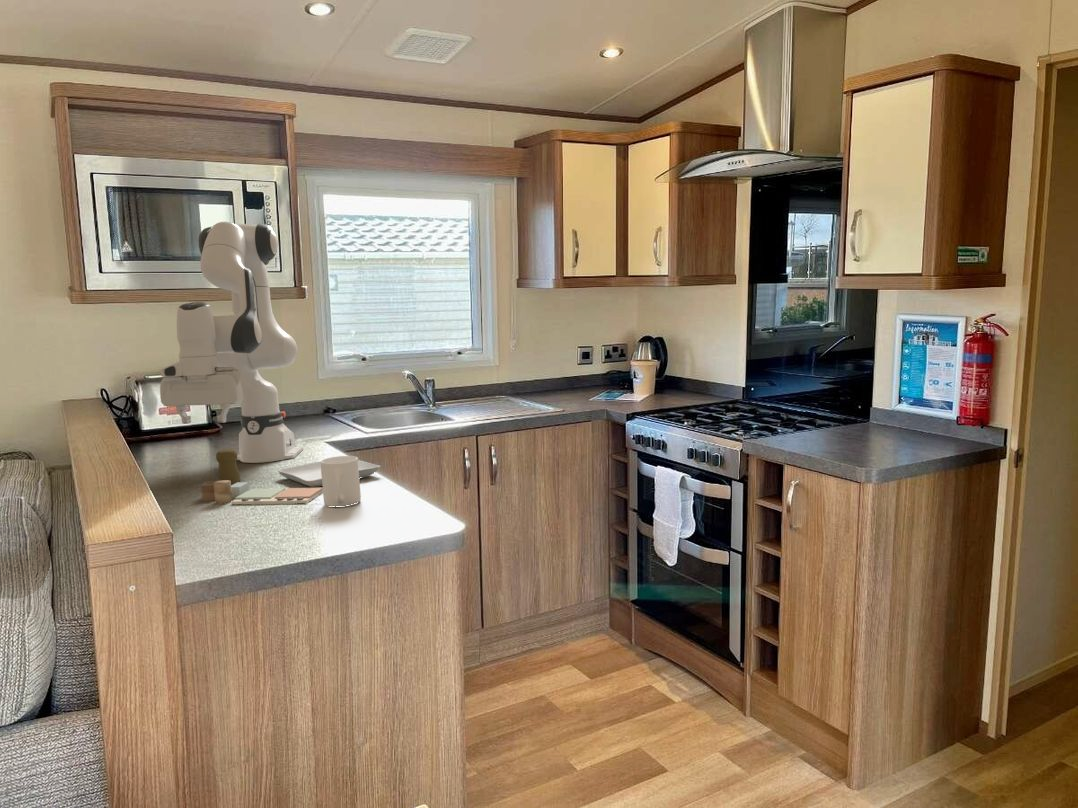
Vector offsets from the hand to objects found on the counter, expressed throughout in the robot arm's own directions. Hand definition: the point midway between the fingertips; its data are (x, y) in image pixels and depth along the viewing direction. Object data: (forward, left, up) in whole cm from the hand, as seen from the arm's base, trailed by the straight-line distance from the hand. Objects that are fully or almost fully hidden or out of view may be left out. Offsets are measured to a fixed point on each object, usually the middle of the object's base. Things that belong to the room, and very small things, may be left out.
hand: (204, 422), depth 200 cm
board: (+3, +19, -19) cm, 27 cm away
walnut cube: (+1, +1, -19) cm, 19 cm away
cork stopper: (+5, +6, -19) cm, 21 cm away
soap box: (-1, +7, -19) cm, 20 cm away
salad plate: (-18, +24, -20) cm, 36 cm away
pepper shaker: (-6, +2, -19) cm, 20 cm away
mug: (+10, +38, -19) cm, 44 cm away
